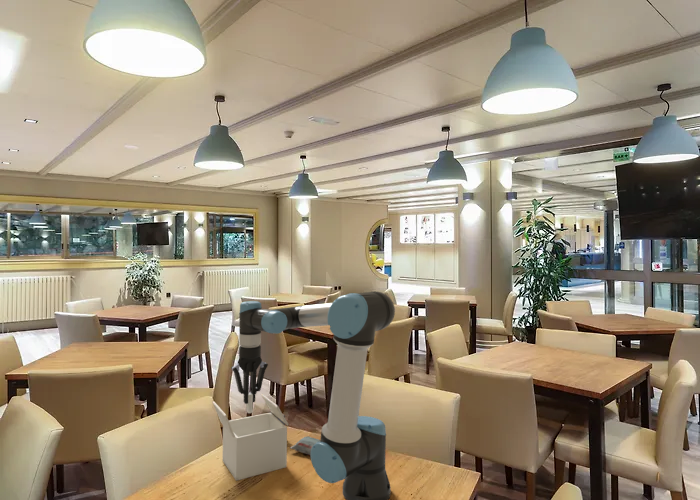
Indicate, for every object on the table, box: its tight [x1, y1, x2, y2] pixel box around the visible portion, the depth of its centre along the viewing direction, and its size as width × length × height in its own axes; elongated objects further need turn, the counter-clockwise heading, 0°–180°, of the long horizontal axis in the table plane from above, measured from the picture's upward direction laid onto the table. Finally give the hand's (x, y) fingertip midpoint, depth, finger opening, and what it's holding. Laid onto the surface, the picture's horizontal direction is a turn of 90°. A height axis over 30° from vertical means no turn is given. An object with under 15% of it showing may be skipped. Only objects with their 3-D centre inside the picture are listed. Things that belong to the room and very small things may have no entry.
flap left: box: [212, 400, 235, 438], centre depth 149 cm, size 15×8×1 cm
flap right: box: [260, 393, 289, 427], centre depth 159 cm, size 15×8×1 cm
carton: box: [222, 412, 288, 481], centre depth 155 cm, size 16×18×14 cm
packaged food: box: [289, 436, 320, 456], centre depth 165 cm, size 9×12×5 cm
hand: (249, 411), depth 154 cm, fingers closed
